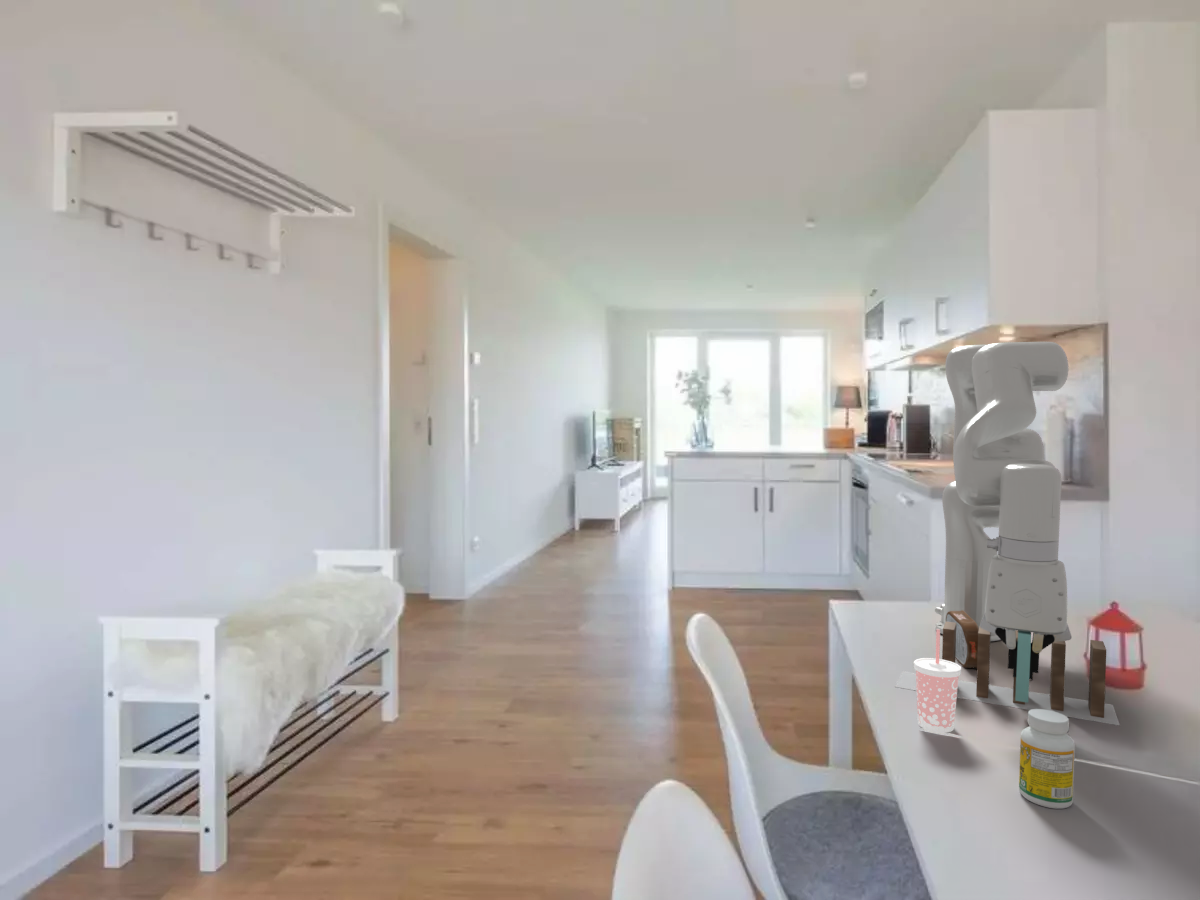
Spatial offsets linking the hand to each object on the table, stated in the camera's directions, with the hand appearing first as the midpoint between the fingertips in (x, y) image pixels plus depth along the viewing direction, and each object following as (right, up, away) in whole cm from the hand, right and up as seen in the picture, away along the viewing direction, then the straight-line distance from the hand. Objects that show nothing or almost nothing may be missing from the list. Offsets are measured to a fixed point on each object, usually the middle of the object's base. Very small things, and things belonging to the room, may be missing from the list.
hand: (1022, 674), depth 109 cm
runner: (+2, -6, +9) cm, 11 cm away
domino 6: (+12, -6, +3) cm, 14 cm away
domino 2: (-1, -6, +10) cm, 12 cm away
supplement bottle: (-10, -7, -23) cm, 26 cm away
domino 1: (-5, -6, +12) cm, 15 cm away
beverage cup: (-14, -7, -3) cm, 16 cm away
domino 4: (0, -3, +1) cm, 3 cm away
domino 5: (+8, -6, +5) cm, 11 cm away
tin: (+4, -6, +27) cm, 28 cm away
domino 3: (+4, -6, +8) cm, 10 cm away
